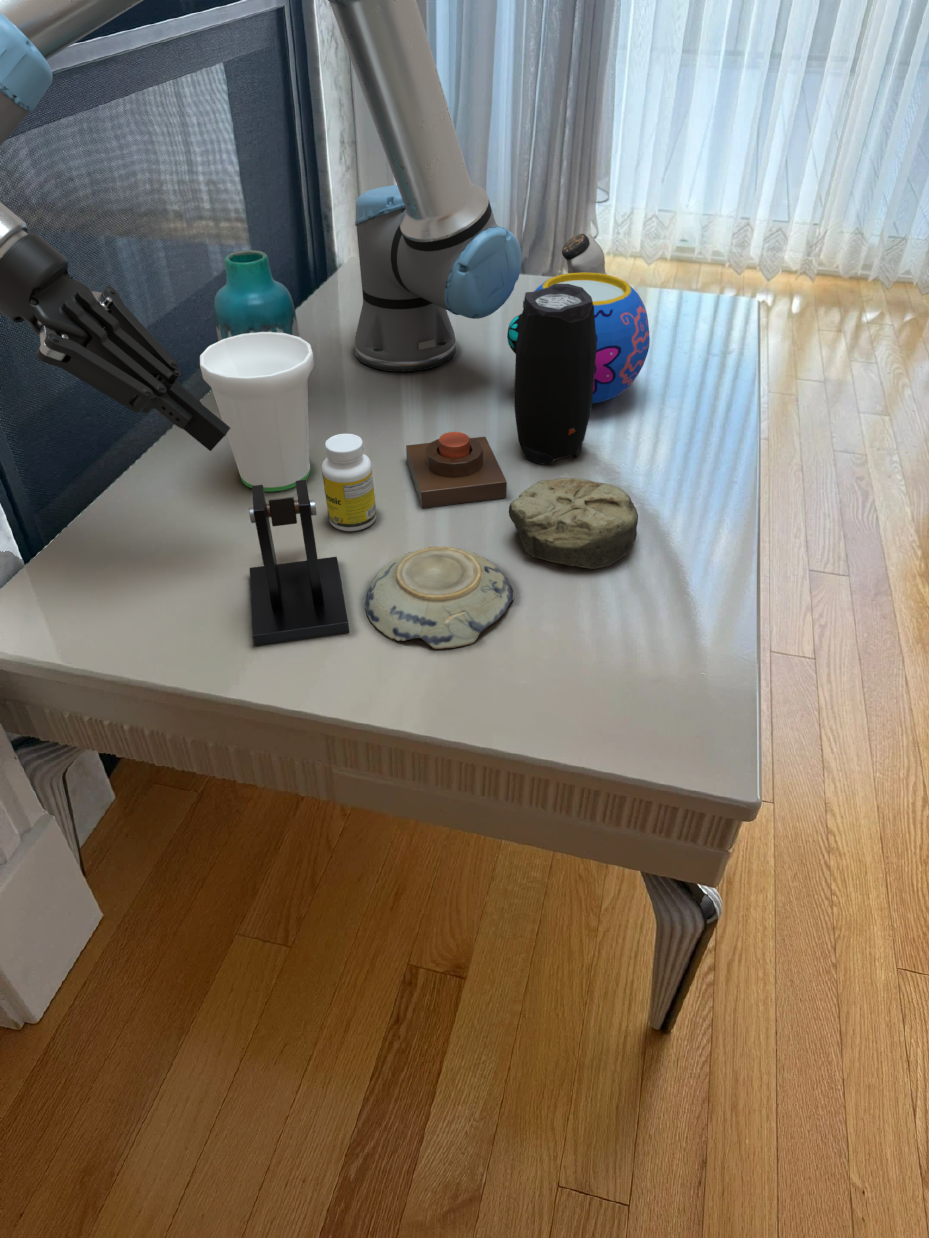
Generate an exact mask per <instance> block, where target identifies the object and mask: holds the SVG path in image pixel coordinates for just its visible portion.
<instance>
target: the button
mask: <svg viewBox="0 0 929 1238" xmlns="http://www.w3.org/2000/svg"><path fill="white" fill-rule="evenodd" d="M470 438H471V437H470V436H469V435H468V434H466V433H464V432H461V431H460V432H459V431H449V432H445V433H443V434H441V435H440V436H439V438H438V439H439V454H440V455H441V456H443V457H445V458H451V459H456V458H463V457H465V456H467V455H469V453H470Z"/></svg>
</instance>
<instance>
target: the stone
mask: <svg viewBox="0 0 929 1238" xmlns="http://www.w3.org/2000/svg"><path fill="white" fill-rule="evenodd" d="M508 516H509V518H510V521H511V522H512V523H513V525H514V527H515V529H516V530H517V532H518V534H519V538H520V542H521V544H522V547H523V549H524V552H526V553H528V554H529V555H530V556H531V557H532V558H537V559H540V560H543V561H547V562H551V563H556V564H559V565H562V564H563V565H567V566H569V567H575V566H576V567H579V568H586V569H592V570H595V569H601V568H605V567H608V566H610V565H612V564H614V563H615V562H617V561H618V560H620V559H621V558H622V557H624V556H625V555H626V554H627V553H628V552H630V550H632V548H633V547H634V544H635V541H636V539H637V535H638V529H637V528H638V523H639V522H638V521H639V514H638V510H637V507H636V506H635V505H634V503H633V501H632V498H631V496H630V495H629V494H628V493H627V491H625V490H624V489H623V488H621V487H620V486H617V485H613V484H610V483H606V482H599V481H594V480H590V479H584V478H578V477H559V478H554V479H540V480H538V481H537V482H535V483H533V484H531V485H530V486H529V487H528V488H526V489H525V490H523V491H522V492H520V494H519V495H518V497H517V498H515V500H512V501H511V502H510V503H509V506H508Z"/></svg>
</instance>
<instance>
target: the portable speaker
mask: <svg viewBox="0 0 929 1238" xmlns="http://www.w3.org/2000/svg"><path fill="white" fill-rule="evenodd" d="M523 298H524V299H523V300H522V311H523V313H522V312H521V313H522V318H521V322H520V327H519V332H518V336H517V341H516V354H515V363H514V364H515V365H514V368H515V369H514V393H513V394H514V395H513V400H514V401H513V403H514V414H515V424H516V432H517V440H518V444H519V445H518V446H519V447H520V449H521V452H522V455H523V456H524V459H525V460H527V461H529V462H532V463H534V464H538V465H545V466H546V465H547V466H549V465H551V464H552V463H553V462H554V461H556V460H559V459H560V460H561V459H564V458H568V457H571V458H572V459H576V458H578V457H579V456H580V455H581V454H582V452H583V444H584V441H585V437H586V433H587V429H588V425H589V422H590V417H591V414H592V405H593V404H592V396H593V385H594V374H595V362H596V351H597V342H596V329H595V315H594V305H593V301H592V297H591V296H590V295H589V294H588V293H587V292H586V291H585V290H584V289H583V288H582V287H578V286H575V285H571V284H554V285H552V286H550V287H547V288H544V289H540V290H537V291H535V290H534V291H526V292H525V293H524V297H523Z"/></svg>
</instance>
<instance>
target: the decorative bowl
mask: <svg viewBox="0 0 929 1238" xmlns="http://www.w3.org/2000/svg"><path fill="white" fill-rule="evenodd" d="M514 593H515V592H514V589H513V586H512V583H511V582H510V580H509V578H508V577H506V575H505V573H504V572H502V571H501V570H500V569H499V568H498V567H497V566H496V565H495V564H494V563H492V562H491V561H489V560H488V559H487V558H486V557H484V556H481V555H480V554H478V553H476V552H473V551H471V550H467V549H462V548H458V547H453V546H452V547H451V546H429V547H424V548H420V549H417V550H414V551H409V552H407V553H403V554H402V555H400V556H398V557H396V558H394V559H393V560H391V561H390V562H388V563H387V564H386V565H385V566H383V568H381V570H380V571H378V573H377V574H376V576H375V577H374V579H373V581H372V583H371V584H370V585H369V587H368V589H367V592H366V595H365V601H364V607H365V611H366V612H365V613H366V614H367V617H368V619H369V622H370V623H371V624H372V625H373V626H374V627H375V629H377V630H378V631H379V632H382V634H383V635H384V636H386V637H388V638H389V639H390V640H395V641H397V642H400V641H402V642H405V641H408V640H413V639H414V640H415V639H421V640H422V641H424V642H425V643H426V644H427V645H428V646H430V647H431V648H432V649H435V650H443V649H454V648H458V647H464V646H469V645H472V644H474V643H475V642H477V639H478V638H479V636H480V635H481V633H482V632H484V630H486V629H487V628H488V627H490V626H491V625H493V624H495V622H497V621H498V620H499V619H500V618H501V617H502V616H504V614H505V613H506V612H507V609H508V608H509V606H510V604H511V603H512V602H513V601H514V600H515V594H514Z"/></svg>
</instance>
